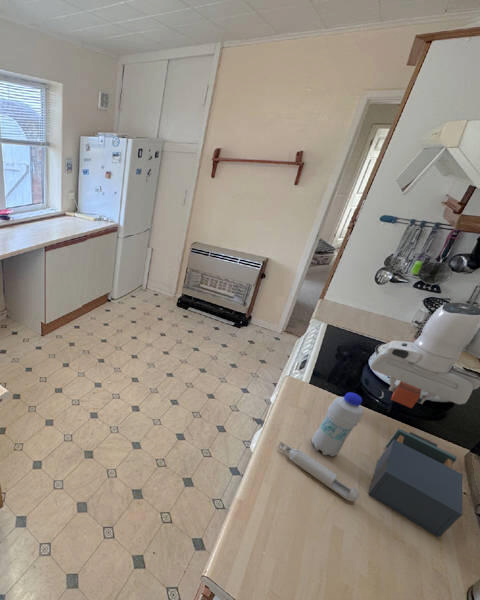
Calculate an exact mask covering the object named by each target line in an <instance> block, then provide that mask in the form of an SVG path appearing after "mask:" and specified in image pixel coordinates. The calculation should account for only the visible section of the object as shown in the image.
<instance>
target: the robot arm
mask: <svg viewBox="0 0 480 600" xmlns="http://www.w3.org/2000/svg"><path fill="white" fill-rule="evenodd" d="M462 352H468V353H469V354H470V355H473V356H474V357H476V358H478V359H479V360H480V307H478V306H477V305H474V304H469V303H463V302H447V303H444V304H442V305H440V307H438V308H437V309H436V310H435V311H434V312H433V313H432V314H431V316H430V317H429V319H427V321H426V322H425V324H424V326H423V328H422V330H421V333H420V336H419V337H417V338H416V339H415V340H414V341H413V342H411V341H403V340H395V339H394V340H391V341H390V342H389V343H388V344H387V347H383V348H382V349H381V350H380V351H379V352H378V353H377V354H376V355H375V356H374V358H373V359H372V361H371V362H370V365H369V366H370V369H371V370H372V371H374V372H377V373H380V374H382V375H384V376H387V377H389V381H388V382H389V384H390V385H389V387H388V392H389V391H390V392H392V393H393V392H394V393H395V391H396V390H397V388H398V384H397V385H396V382H397V381H399V382H400V381H401V382H404V383H406V384H409V385H411V386H414V387H416V388H419V389H421V391H424V392H426V394H424V395H421V394H420V397H419V399H418V400H417V402H416V403H418V404H420V405H423V404H424V402H425V401H428V400H431V399H434V398H435V397H439V398H442V399H444V400H447V401H449V402H452V403H454V404H456V405H465V404H467V402H468V400H469V399H470V397H471V395H472V393H473V391H474V390H478V389H479V388H480V376H478V374H477V373H475V372H472V371H468V370H465V369H463V368H460V367H457V366H455V364H456V363H457V362H458V360H459V359H460V357H461V355H462Z"/></svg>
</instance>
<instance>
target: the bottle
mask: <svg viewBox="0 0 480 600" xmlns="http://www.w3.org/2000/svg"><path fill="white" fill-rule="evenodd" d="M362 402H363V399H362V396H360V395H359V394H357V393H355V392H353V391H352V392H351V391H349V392H347V393H345V394H344V396H337V397H336V398H335V399H334V400H333V401H332V402H331V403H330V405H329V406H328V408H327V413H326V415H325V417H324V419H323V420H322V421H321V424H320V425H319V427H318V429H317V430H316V431H315V432H314V434H313V435H312V438H311V444H312V445H313V446H314V449H315V450H316V451H321V454H322V455H323V456H327V455H328V456H330V457H335V456H336V455H338V454H339V452H340V451H341V449H342V448H343V446H344V443H345V442H346V440H347V439H348V437H349V435H350V433H352V431H353V429H354V428H355V427H357V426H358V424H359V423H360V422H361V420H362V418H363V417H362V416H363V414H364V408H363V407H362V405H361V404H362Z"/></svg>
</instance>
